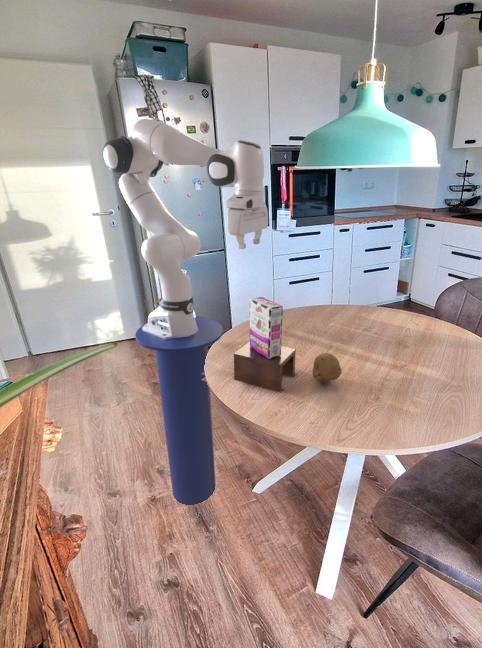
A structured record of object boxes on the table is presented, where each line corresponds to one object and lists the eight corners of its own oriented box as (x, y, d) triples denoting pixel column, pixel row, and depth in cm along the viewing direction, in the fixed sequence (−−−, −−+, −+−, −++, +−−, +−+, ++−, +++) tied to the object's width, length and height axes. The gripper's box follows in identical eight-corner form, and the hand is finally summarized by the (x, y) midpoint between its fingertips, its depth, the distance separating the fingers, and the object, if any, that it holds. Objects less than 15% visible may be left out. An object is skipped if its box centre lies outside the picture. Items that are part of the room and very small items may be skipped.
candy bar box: (282, 356, 120) (283, 305, 113) (268, 360, 117) (269, 309, 110) (261, 343, 128) (262, 295, 121) (249, 346, 125) (248, 298, 118)
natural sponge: (344, 380, 126) (347, 353, 122) (332, 392, 119) (335, 364, 115) (319, 372, 130) (321, 346, 126) (307, 384, 123) (308, 356, 119)
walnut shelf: (234, 379, 124) (233, 353, 120) (252, 364, 134) (252, 339, 130) (279, 391, 119) (280, 364, 115) (294, 374, 129) (295, 349, 125)
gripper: (256, 197, 128) (256, 240, 134) (222, 201, 111) (224, 250, 117) (273, 199, 126) (272, 242, 132) (241, 203, 109) (242, 252, 115)
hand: (249, 246), depth 124 cm, fingers open, 8 cm apart
